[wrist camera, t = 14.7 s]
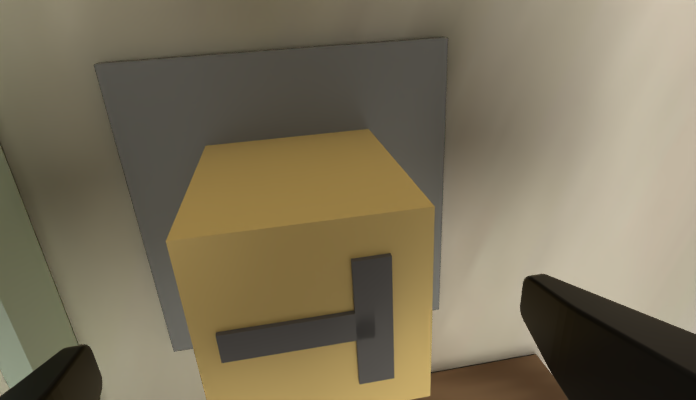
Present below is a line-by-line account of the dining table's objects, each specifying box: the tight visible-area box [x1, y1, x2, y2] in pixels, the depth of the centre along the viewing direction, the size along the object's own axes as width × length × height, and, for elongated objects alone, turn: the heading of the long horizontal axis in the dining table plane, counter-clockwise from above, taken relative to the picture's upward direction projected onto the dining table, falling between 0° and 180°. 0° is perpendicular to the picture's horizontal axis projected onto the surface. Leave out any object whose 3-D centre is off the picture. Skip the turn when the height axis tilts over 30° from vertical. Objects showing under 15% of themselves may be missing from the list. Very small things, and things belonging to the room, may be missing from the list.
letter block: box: [166, 129, 435, 400], centre depth 12 cm, size 5×5×6 cm
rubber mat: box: [94, 37, 448, 352], centre depth 15 cm, size 10×10×1 cm
